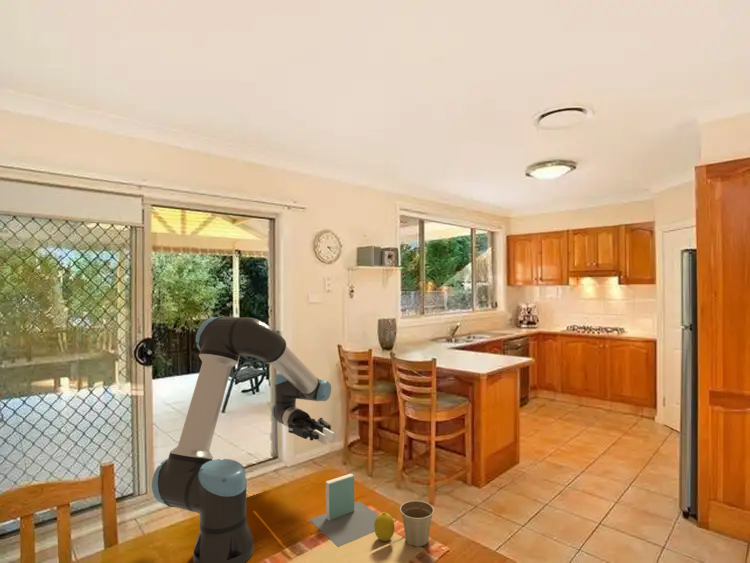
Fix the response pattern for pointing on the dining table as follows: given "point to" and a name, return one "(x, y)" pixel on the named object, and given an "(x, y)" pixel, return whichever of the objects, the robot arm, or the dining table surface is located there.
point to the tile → (339, 496)
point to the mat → (347, 525)
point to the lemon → (384, 526)
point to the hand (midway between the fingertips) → (329, 438)
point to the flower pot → (417, 521)
